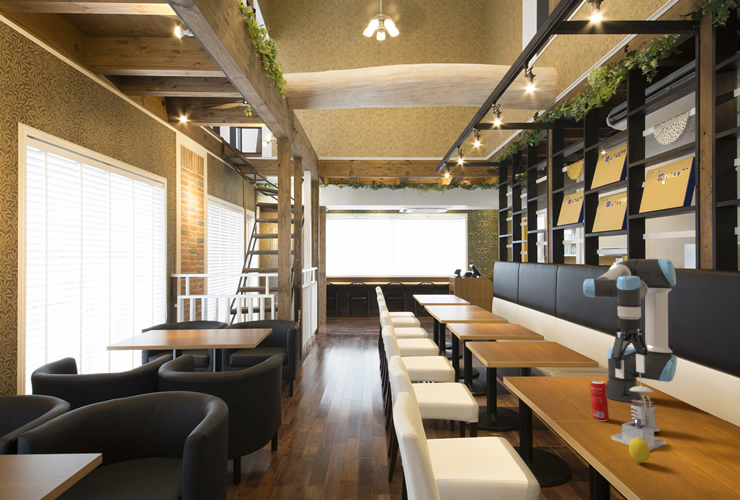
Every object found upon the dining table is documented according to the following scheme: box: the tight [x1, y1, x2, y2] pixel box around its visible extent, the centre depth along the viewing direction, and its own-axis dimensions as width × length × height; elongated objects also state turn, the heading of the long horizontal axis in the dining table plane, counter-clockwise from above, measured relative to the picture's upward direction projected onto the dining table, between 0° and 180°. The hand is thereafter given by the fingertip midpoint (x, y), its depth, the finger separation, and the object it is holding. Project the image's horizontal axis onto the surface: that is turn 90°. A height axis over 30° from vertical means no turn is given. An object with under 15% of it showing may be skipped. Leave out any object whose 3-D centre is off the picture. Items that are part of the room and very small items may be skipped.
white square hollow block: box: [621, 420, 655, 443], centre depth 154 cm, size 7×7×4 cm
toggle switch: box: [610, 419, 667, 451], centre depth 154 cm, size 12×12×8 cm
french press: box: [629, 374, 661, 432], centre depth 166 cm, size 10×12×25 cm
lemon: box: [628, 437, 651, 464], centre depth 137 cm, size 6×6×8 cm
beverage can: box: [589, 379, 610, 422], centre depth 177 cm, size 6×6×15 cm
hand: (630, 374), depth 164 cm, fingers open, 13 cm apart
